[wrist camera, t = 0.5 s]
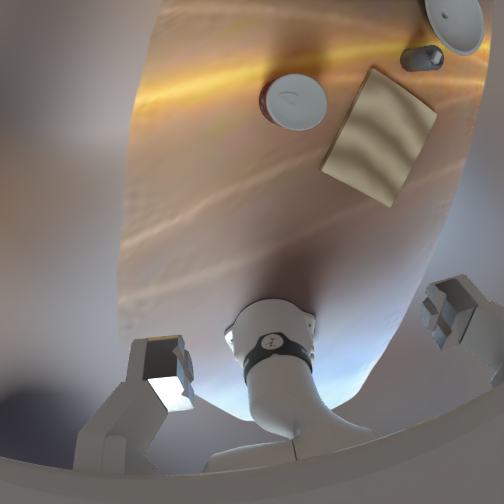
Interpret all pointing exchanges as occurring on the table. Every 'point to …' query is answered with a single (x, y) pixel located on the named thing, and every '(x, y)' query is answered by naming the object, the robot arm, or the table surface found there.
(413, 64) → the dark grey cylinder
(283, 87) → the canned food
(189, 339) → the table surface
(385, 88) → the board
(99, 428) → the robot arm
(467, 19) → the dish
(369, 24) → the table surface
